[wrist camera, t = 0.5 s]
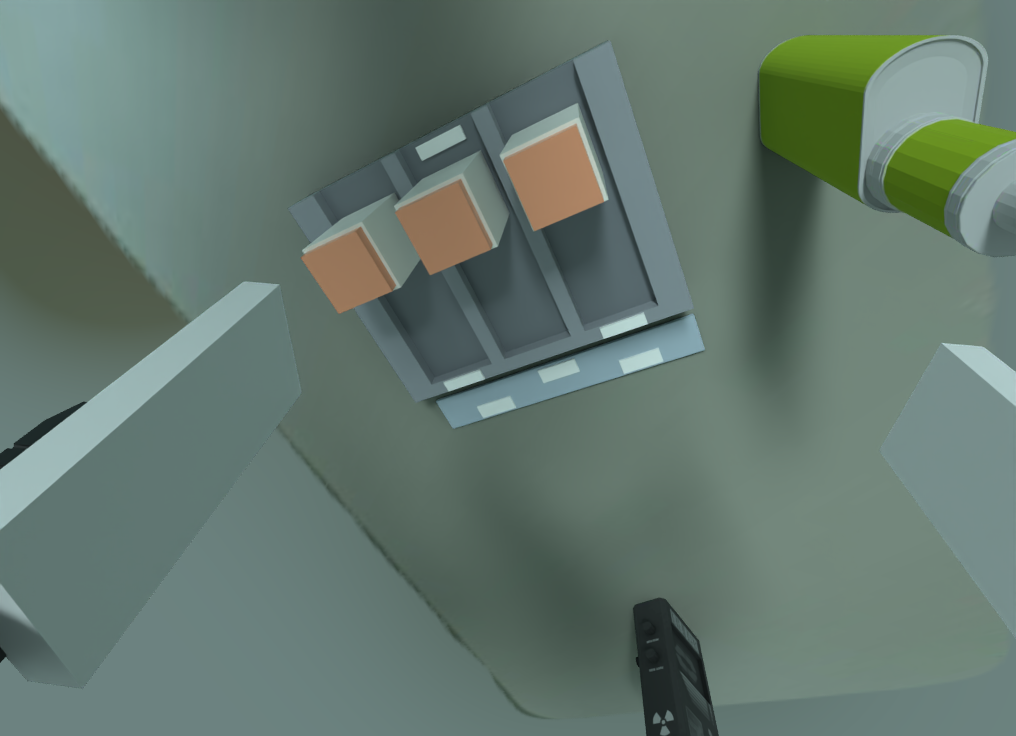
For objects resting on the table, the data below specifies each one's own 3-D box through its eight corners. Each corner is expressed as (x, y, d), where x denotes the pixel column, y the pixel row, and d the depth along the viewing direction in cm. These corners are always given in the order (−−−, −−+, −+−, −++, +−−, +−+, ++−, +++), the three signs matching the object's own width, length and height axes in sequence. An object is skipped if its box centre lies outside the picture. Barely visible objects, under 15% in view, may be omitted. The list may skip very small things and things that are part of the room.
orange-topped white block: (422, 178, 32) (389, 210, 26) (480, 150, 31) (459, 176, 25) (453, 238, 34) (428, 279, 28) (509, 213, 32) (495, 251, 27)
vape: (760, 161, 31) (977, 307, 15) (757, 48, 28) (1023, 67, 12) (829, 144, 31) (1143, 278, 14) (833, 25, 28) (1239, 11, 11)
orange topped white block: (342, 218, 34) (295, 255, 28) (394, 192, 32) (356, 226, 27) (375, 272, 35) (337, 318, 30) (426, 250, 34) (397, 293, 28)
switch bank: (307, 195, 35) (286, 209, 33) (606, 40, 29) (610, 41, 26) (424, 380, 43) (414, 404, 40) (685, 289, 36) (694, 309, 33)
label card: (436, 399, 43) (435, 402, 43) (693, 313, 37) (694, 316, 37) (453, 426, 45) (452, 429, 44) (704, 347, 38) (705, 350, 38)
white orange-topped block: (511, 134, 30) (497, 158, 24) (577, 102, 29) (578, 119, 23) (539, 200, 32) (532, 236, 26) (602, 172, 31) (609, 204, 25)
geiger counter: (619, 603, 55) (632, 771, 43) (659, 591, 54) (685, 762, 41) (663, 654, 59) (688, 821, 47) (702, 645, 58) (738, 815, 45)
